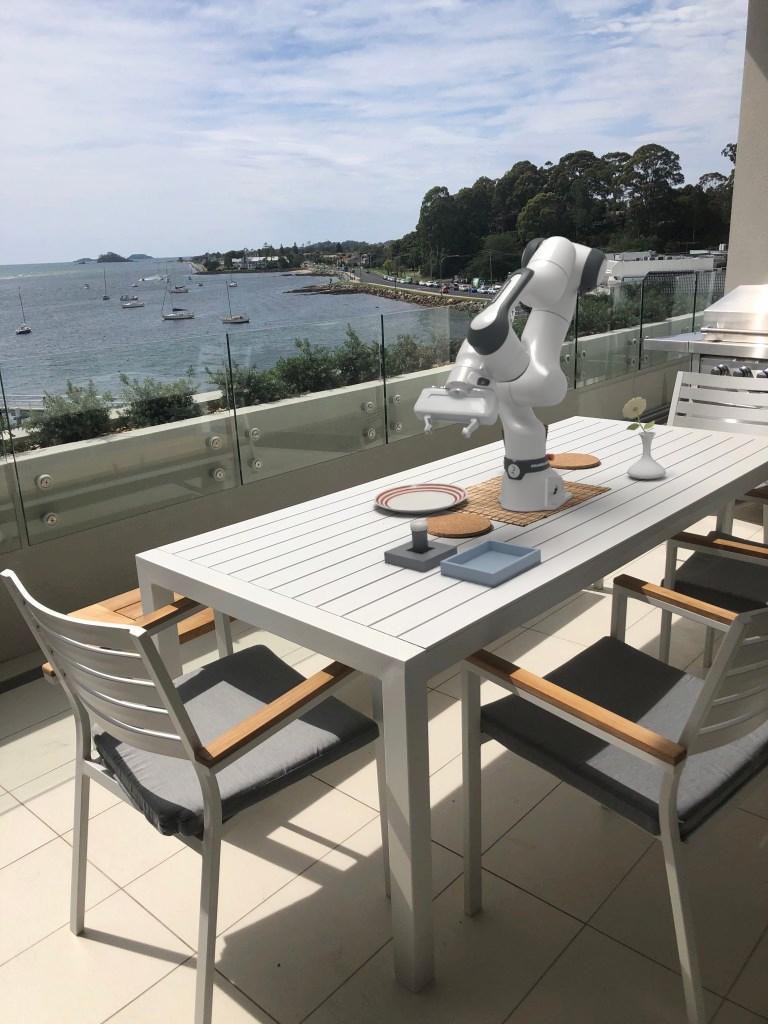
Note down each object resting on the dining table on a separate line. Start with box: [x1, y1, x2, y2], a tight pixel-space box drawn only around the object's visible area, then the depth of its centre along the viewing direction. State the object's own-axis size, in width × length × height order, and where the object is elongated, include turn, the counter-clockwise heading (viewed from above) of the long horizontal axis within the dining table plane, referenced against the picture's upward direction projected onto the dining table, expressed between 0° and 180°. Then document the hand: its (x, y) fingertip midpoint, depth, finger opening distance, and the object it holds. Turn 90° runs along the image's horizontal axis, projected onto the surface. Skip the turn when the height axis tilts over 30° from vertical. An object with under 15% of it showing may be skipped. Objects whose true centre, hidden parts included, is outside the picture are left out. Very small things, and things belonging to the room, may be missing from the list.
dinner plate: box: [373, 482, 469, 515], centre depth 221 cm, size 27×27×3 cm
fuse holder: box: [383, 539, 458, 573], centre depth 176 cm, size 12×12×2 cm
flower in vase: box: [621, 396, 667, 480], centre depth 229 cm, size 13×11×25 cm
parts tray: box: [439, 538, 542, 589], centre depth 167 cm, size 18×14×3 cm
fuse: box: [409, 519, 429, 554], centre depth 175 cm, size 4×4×9 cm
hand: (446, 434), depth 175 cm, fingers open, 8 cm apart
